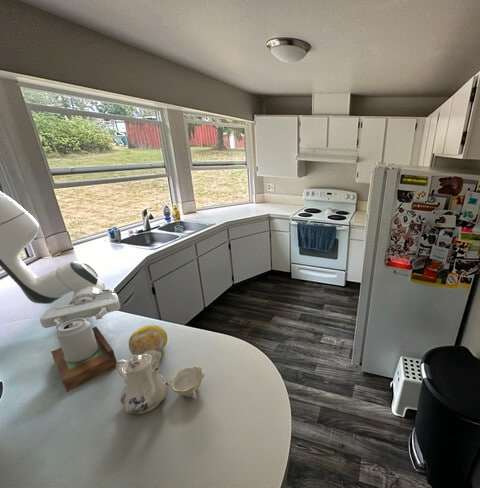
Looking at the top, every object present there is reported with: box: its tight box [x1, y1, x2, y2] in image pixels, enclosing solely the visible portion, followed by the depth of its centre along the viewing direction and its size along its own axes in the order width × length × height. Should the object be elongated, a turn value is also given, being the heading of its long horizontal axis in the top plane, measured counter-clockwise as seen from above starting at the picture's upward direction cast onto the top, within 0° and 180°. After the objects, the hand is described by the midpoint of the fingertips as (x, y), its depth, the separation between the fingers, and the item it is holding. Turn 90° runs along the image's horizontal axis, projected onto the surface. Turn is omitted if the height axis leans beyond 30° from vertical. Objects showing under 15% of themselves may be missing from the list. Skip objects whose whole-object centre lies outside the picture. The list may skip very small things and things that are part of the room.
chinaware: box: [115, 350, 205, 416], centre depth 71 cm, size 28×17×17 cm, turn 74°
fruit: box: [128, 324, 168, 356], centre depth 85 cm, size 10×11×10 cm
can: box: [55, 318, 98, 362], centre depth 78 cm, size 8×8×12 cm
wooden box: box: [50, 326, 118, 392], centre depth 80 cm, size 12×18×7 cm, turn 53°
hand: (79, 322), depth 82 cm, fingers open, 8 cm apart
